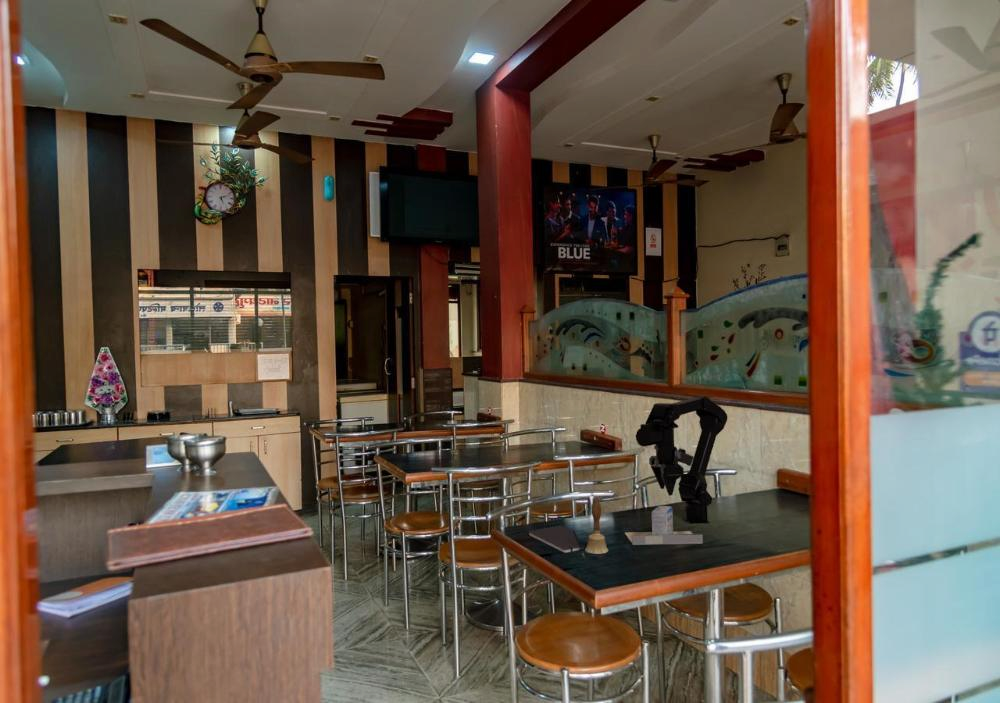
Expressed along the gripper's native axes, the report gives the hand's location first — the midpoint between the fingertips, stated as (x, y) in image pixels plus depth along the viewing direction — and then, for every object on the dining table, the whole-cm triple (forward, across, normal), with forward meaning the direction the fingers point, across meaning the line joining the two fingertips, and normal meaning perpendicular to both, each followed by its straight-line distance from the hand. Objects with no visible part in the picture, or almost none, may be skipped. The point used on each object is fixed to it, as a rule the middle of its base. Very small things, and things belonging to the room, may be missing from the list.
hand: (666, 492), depth 198 cm
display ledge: (+12, -14, +5) cm, 19 cm away
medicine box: (+10, -14, +5) cm, 18 cm away
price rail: (+10, -19, +5) cm, 22 cm away
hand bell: (+12, -24, +26) cm, 37 cm away
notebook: (+12, -8, +34) cm, 37 cm away
